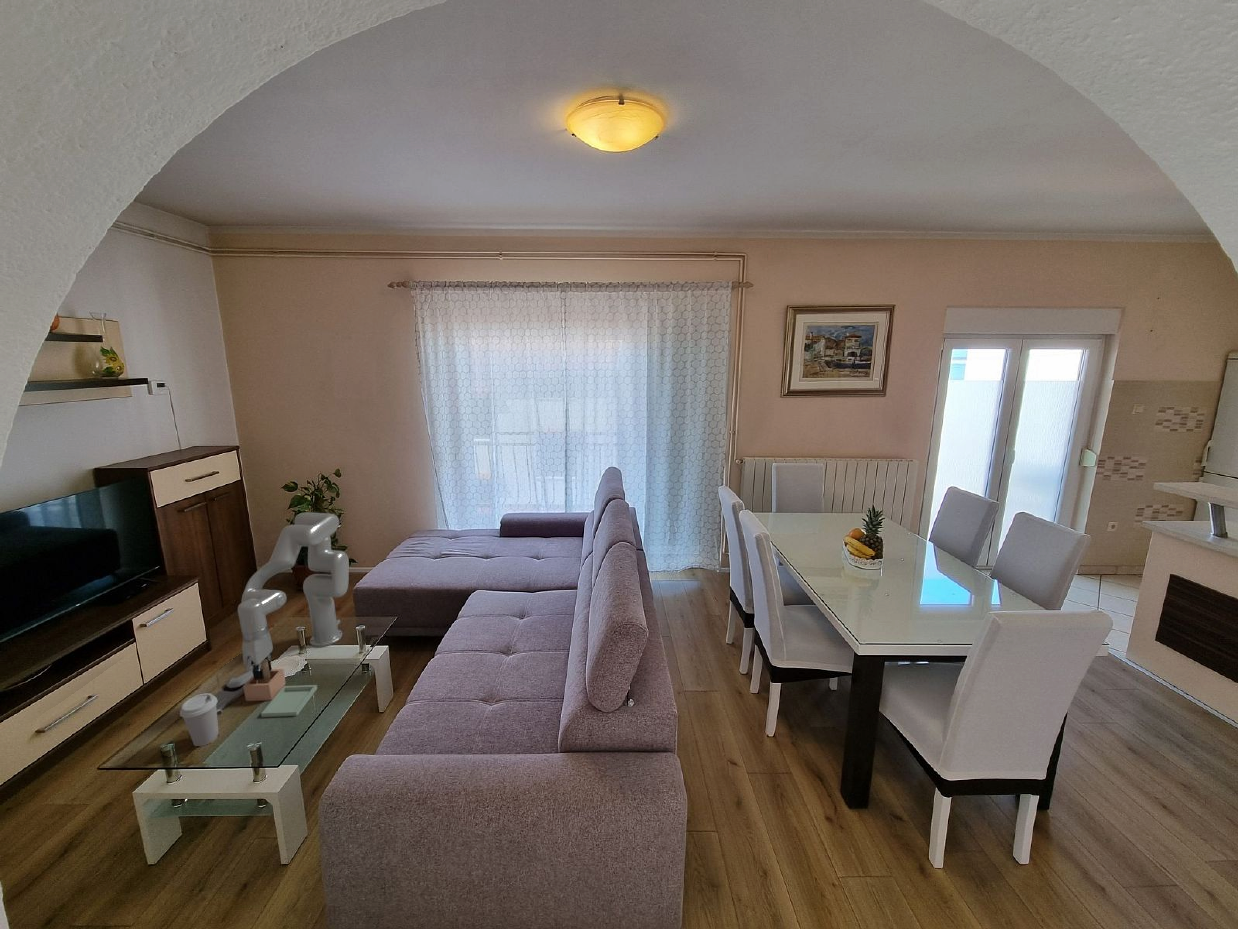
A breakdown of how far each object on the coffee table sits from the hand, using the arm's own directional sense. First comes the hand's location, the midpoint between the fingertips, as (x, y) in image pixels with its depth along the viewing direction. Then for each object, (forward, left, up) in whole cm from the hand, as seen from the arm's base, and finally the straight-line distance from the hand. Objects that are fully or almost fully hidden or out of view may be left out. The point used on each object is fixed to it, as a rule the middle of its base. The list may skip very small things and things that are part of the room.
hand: (263, 674), depth 182 cm
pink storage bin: (0, 0, -9) cm, 9 cm away
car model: (+1, -12, -9) cm, 15 cm away
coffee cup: (+21, -7, -9) cm, 24 cm away
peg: (0, 0, -8) cm, 8 cm away
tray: (+6, +12, -9) cm, 16 cm away
